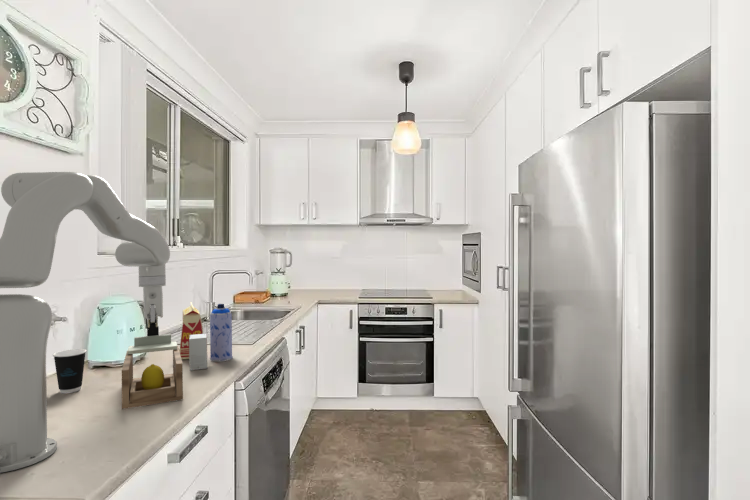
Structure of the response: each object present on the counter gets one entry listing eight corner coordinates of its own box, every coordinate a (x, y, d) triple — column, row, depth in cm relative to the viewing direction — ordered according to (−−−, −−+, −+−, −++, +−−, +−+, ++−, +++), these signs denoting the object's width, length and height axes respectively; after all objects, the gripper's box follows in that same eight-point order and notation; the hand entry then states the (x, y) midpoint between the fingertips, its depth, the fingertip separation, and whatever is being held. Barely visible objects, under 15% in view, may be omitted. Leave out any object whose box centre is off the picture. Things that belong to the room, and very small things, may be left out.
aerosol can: (237, 356, 159) (236, 303, 159) (222, 362, 151) (222, 305, 151) (219, 355, 161) (219, 302, 161) (205, 360, 154) (204, 305, 154)
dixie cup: (77, 384, 128) (76, 347, 128) (93, 388, 124) (92, 350, 124) (47, 392, 121) (46, 353, 121) (62, 396, 117) (62, 356, 117)
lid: (177, 349, 129) (177, 337, 129) (127, 354, 123) (127, 342, 123) (176, 344, 135) (176, 333, 135) (128, 349, 129) (128, 337, 129)
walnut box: (182, 399, 114) (182, 363, 114) (122, 409, 108) (121, 370, 108) (178, 375, 135) (178, 345, 135) (127, 382, 129) (127, 350, 129)
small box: (207, 368, 143) (207, 337, 143) (189, 370, 141) (188, 339, 141) (207, 363, 151) (206, 333, 151) (189, 364, 149) (189, 334, 149)
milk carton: (178, 355, 162) (177, 302, 162) (204, 352, 166) (203, 300, 166) (178, 360, 154) (177, 305, 154) (205, 357, 158) (205, 303, 158)
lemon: (153, 398, 113) (153, 367, 113) (136, 395, 114) (136, 366, 114) (169, 390, 118) (168, 362, 118) (152, 389, 120) (152, 360, 119)
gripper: (166, 282, 130) (166, 343, 130) (165, 279, 143) (165, 334, 143) (137, 283, 126) (138, 345, 126) (139, 280, 139) (140, 336, 140)
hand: (153, 339), depth 135 cm, fingers closed
